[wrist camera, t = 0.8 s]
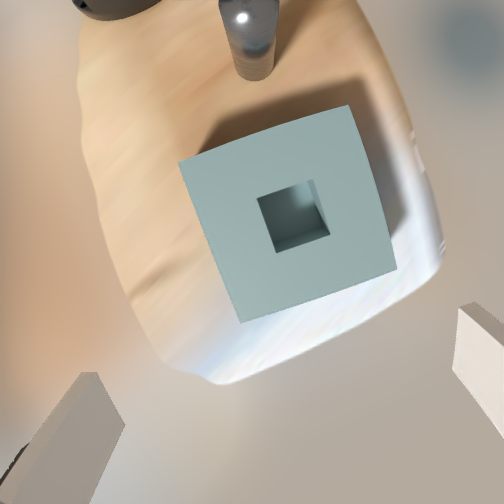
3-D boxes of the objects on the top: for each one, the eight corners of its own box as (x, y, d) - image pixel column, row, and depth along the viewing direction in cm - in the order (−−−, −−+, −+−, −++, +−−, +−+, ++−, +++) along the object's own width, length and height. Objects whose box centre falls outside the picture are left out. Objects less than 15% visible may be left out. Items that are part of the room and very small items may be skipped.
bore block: (191, 164, 33) (177, 162, 27) (335, 114, 31) (348, 104, 26) (243, 301, 36) (240, 323, 31) (378, 255, 34) (397, 269, 29)
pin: (233, 50, 30) (216, -16, 16) (271, 46, 29) (275, -22, 16) (237, 83, 31) (220, 28, 17) (275, 79, 30) (283, 22, 17)
